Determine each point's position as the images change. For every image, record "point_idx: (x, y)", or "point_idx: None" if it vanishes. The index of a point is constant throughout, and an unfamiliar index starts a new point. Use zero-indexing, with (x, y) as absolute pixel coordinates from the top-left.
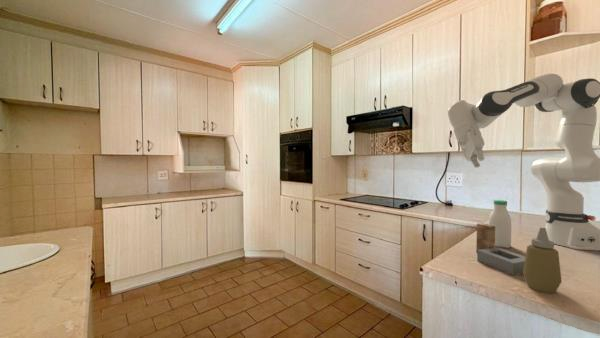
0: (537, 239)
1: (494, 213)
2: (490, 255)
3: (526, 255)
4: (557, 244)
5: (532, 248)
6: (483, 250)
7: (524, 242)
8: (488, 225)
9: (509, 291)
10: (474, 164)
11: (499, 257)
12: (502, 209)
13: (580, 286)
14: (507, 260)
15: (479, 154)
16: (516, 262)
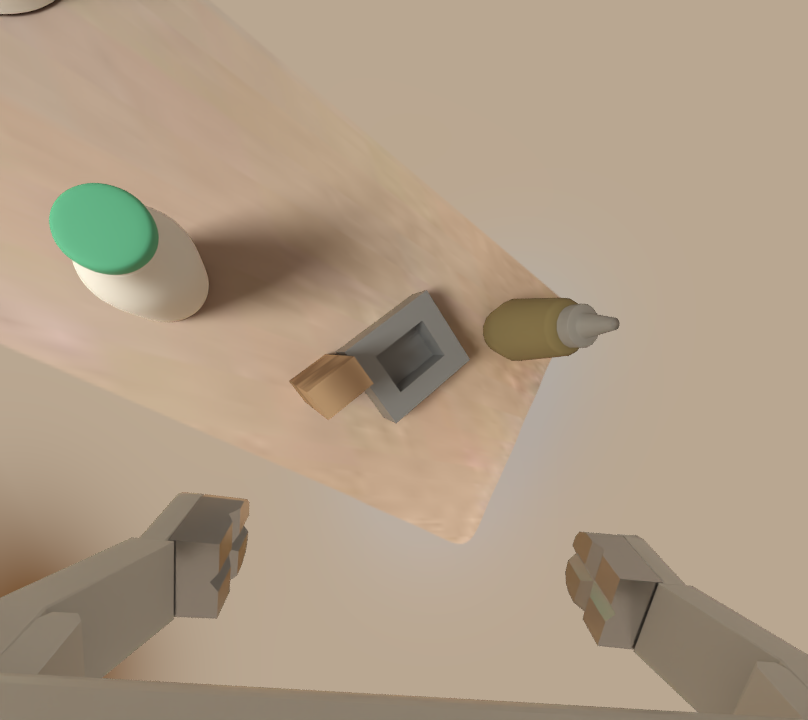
0: (587, 337)
1: (156, 290)
2: (425, 396)
3: (545, 357)
4: (51, 2)
5: (573, 351)
6: (393, 406)
7: (58, 139)
8: (351, 380)
9: (528, 397)
10: (224, 597)
11: (440, 379)
12: (164, 245)
13: (466, 241)
14: (456, 366)
15: (701, 651)
16: (463, 349)
